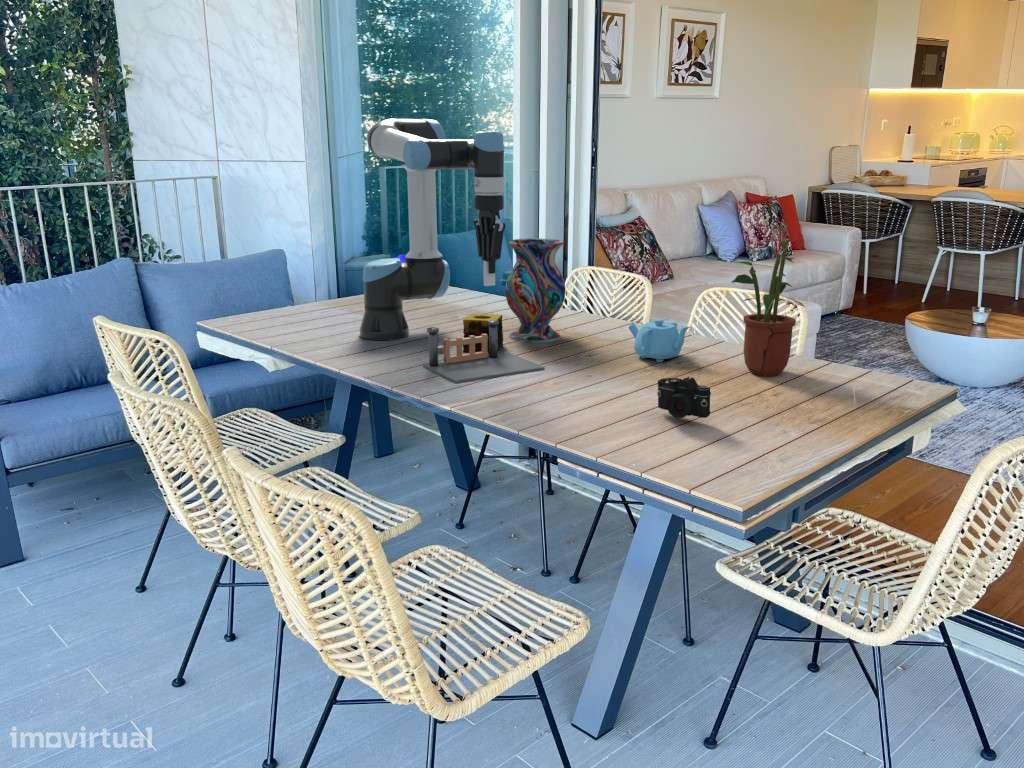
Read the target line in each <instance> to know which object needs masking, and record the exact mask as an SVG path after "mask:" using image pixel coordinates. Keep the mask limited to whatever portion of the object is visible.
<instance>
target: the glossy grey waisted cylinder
mask: <svg viewBox="0 0 1024 768" xmlns="http://www.w3.org/2000/svg"><path fill="white" fill-rule="evenodd" d="M487 325H489V354H488V355H489V358H497V357H498V354H499V352H498V332H497V325H499V321H496V320H490V321H487Z"/></svg>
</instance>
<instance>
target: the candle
mask: <svg viewBox="0 0 1024 768" xmlns="http://www.w3.org/2000/svg"><path fill="white" fill-rule="evenodd" d="M490 320H496V321H499V325H497V332H498V353H499V352H500V351H501V349H502V348H503V346H504V344H503V343H504V333H503V331H504V330H503V314H495V313H493V314H492V313H470V314H469V315H468V316H466V317H465V318H463V319H462V324H463V331H462V332H463V338H468V337H469V336H471V335H474V336H475V337H476V336H482V334H487V336H488V342H487V348H488V355H489V325H487V321H490ZM475 352H482V342H481V343H475ZM462 353H464V354H467V353H469V344H466V345H462Z"/></svg>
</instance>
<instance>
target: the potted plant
mask: <svg viewBox="0 0 1024 768" xmlns="http://www.w3.org/2000/svg"><path fill="white" fill-rule="evenodd" d="M780 245H781V247H782V252H781V256H780V254H777V256H776V258H775V262H774V266H773V269H772V275H771V279H770V285H769V290H768V294H767V293H764V294H763V297H762V299H761V294H760V288H759V283H758V276H757V272H756V271H757V270H755V268H754V266H753V263H752V262H751V261H747V260H746V261H745V260H743V261H738V262H737V264H743V265H748V266H751V267H750V269H749V270H748V272H749V274H750V275H748V274H738V275H736V277H735V278H734V279H733V280H732V281H730V283H731V284H733V283H739V284H744V285H746V284H747V285H752V284H753V287H754V293H755V294H754V295H755V298H754V297H753V298H745V299H744V300H743V301H742V302H745V301H749V300H755V301H756V313H752V314H750V313H749V314H746V315H744V316H743V317H742V318H743V320H742V321H743V324H745V326H744V338H743V339H744V340H743V341H744V342H743V358H744V364H745V366H746V367H747V369H748V371H750V373H751V374H753V373H754V374H753V375H756V374H757V375H756V376H760V375H761V377H774V376H775V375H776V376H778V375H779V374H782V373H783V371H784V370H785V368H787V366H788V362H789V359H790V356H791V348H792V339H793V338H792V337H793V327H794V326H796V324H797V319H796V318H794V317H793V316H788V315H783V314H778V309H779V300H780V296H781V295H782V293H783V291H784V290H785V289H786V288H787V286H789V287H791V288H793V286H792V285H791V284H790V283H789V282H785V281H783V277H785V278H787V276H786V274H785V273H784V272H785V271H784V270H785V264H786V260H787V261H788V262H791V263H794V261H793V260H796V258H795V257H788V256H787V252H788V246H789V245H790V240H789V241H788V240H781V241H780ZM778 269H779V270H778ZM761 300H762V301H763V305H764V308H765V309H764V313H762V303H761ZM772 310H773V311H772ZM776 376H775V377H776Z"/></svg>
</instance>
